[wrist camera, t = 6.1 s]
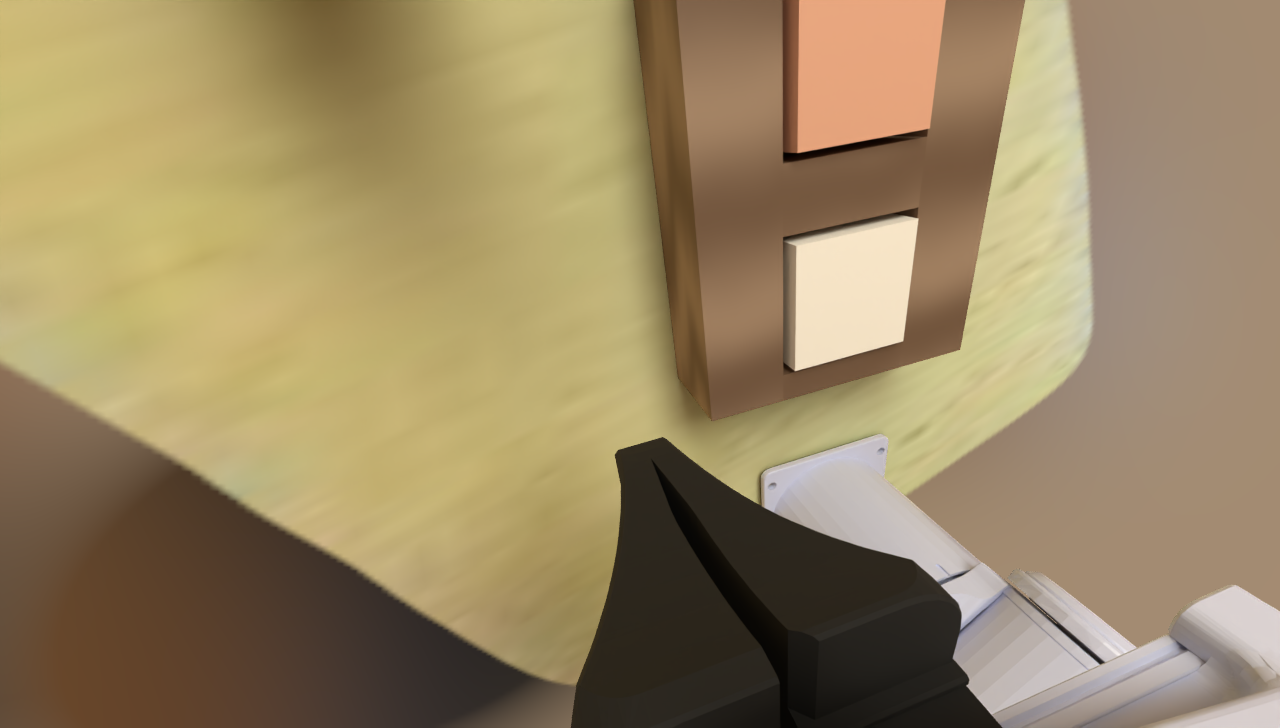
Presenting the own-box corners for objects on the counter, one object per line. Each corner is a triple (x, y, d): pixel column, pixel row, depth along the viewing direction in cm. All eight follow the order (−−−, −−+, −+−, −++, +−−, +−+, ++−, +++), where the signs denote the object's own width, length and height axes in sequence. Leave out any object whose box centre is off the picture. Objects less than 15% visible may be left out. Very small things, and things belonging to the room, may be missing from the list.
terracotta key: (878, 128, 19) (929, 128, 16) (759, 150, 18) (797, 153, 15) (891, -36, 16) (953, -62, 14) (755, -21, 15) (799, -46, 13)
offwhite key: (862, 320, 22) (903, 341, 20) (763, 347, 21) (795, 371, 19) (871, 209, 20) (918, 218, 18) (761, 233, 19) (796, 246, 17)
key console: (894, 319, 25) (960, 349, 22) (678, 377, 23) (711, 421, 20) (940, -80, 18) (1049, -132, 14) (627, -51, 16) (667, -104, 12)
